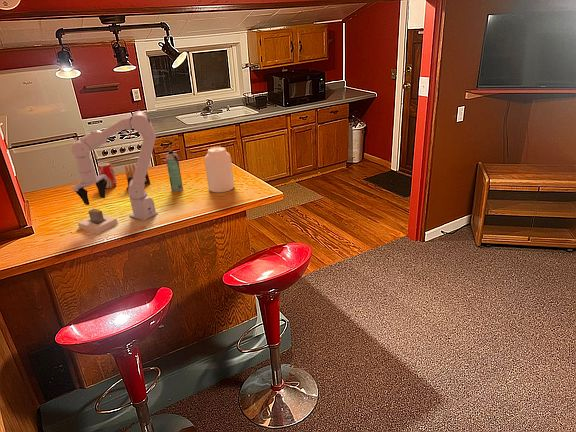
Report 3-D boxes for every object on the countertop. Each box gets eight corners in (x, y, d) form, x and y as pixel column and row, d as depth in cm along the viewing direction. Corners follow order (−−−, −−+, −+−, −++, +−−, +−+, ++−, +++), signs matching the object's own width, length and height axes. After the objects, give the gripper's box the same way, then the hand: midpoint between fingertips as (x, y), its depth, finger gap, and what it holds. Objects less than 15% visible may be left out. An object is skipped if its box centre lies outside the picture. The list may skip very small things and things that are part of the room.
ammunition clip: (128, 187, 215) (123, 165, 210) (128, 186, 216) (123, 164, 211) (150, 183, 219) (145, 161, 213) (149, 182, 220) (145, 160, 215)
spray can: (184, 187, 211) (178, 148, 203) (180, 191, 207) (174, 152, 198) (173, 187, 212) (166, 148, 203) (170, 191, 207) (162, 152, 198)
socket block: (117, 223, 178) (116, 218, 177) (97, 234, 170) (95, 228, 169) (99, 218, 184) (98, 213, 183) (79, 227, 176) (77, 222, 175)
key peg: (97, 223, 179) (93, 208, 176) (105, 226, 176) (101, 210, 173) (92, 226, 177) (88, 210, 174) (100, 228, 174) (96, 213, 171)
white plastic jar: (237, 190, 205) (232, 150, 196) (211, 194, 201) (206, 154, 192) (230, 181, 215) (226, 143, 207) (206, 186, 212) (200, 147, 203)
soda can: (114, 188, 215) (108, 166, 209) (100, 189, 215) (94, 166, 210) (119, 183, 221) (114, 161, 216) (106, 184, 221) (100, 162, 216)
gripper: (95, 163, 178) (103, 193, 184) (64, 174, 167) (73, 206, 173) (106, 165, 175) (114, 196, 181) (75, 177, 164) (84, 209, 170)
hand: (95, 201), depth 177 cm, fingers open, 7 cm apart
